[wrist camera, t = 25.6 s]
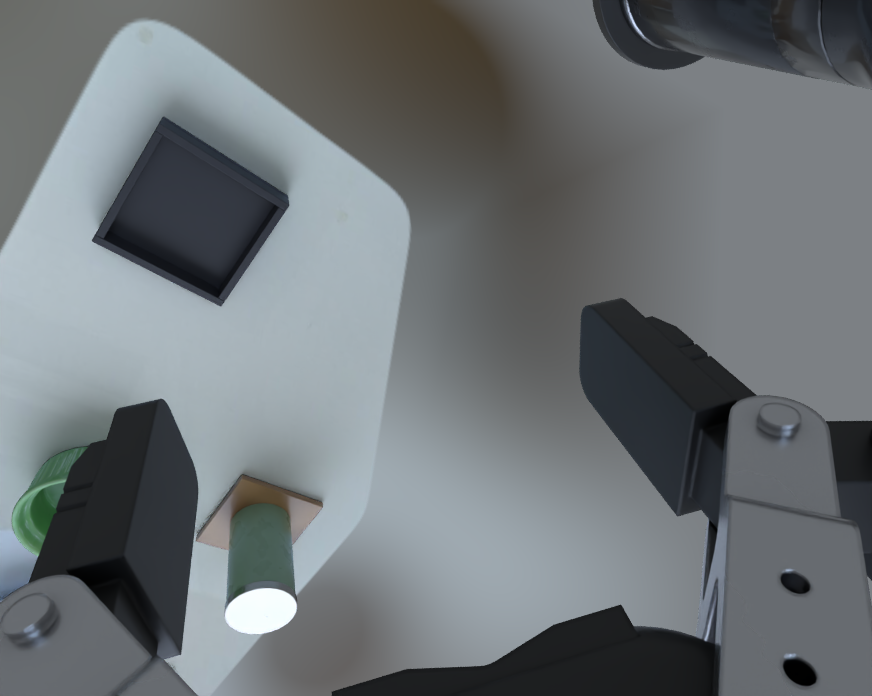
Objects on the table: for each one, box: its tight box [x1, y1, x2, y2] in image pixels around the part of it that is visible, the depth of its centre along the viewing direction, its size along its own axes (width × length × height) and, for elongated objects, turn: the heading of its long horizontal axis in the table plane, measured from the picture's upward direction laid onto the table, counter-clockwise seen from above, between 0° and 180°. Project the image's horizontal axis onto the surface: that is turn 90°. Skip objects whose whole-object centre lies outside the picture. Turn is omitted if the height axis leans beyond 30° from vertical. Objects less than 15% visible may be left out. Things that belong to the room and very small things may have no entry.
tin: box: [224, 503, 297, 634], centre depth 51 cm, size 5×5×9 cm
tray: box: [92, 117, 289, 306], centre depth 40 cm, size 9×9×2 cm
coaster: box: [196, 474, 323, 551], centre depth 55 cm, size 8×8×1 cm
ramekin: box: [12, 447, 88, 556], centre depth 47 cm, size 9×9×4 cm
